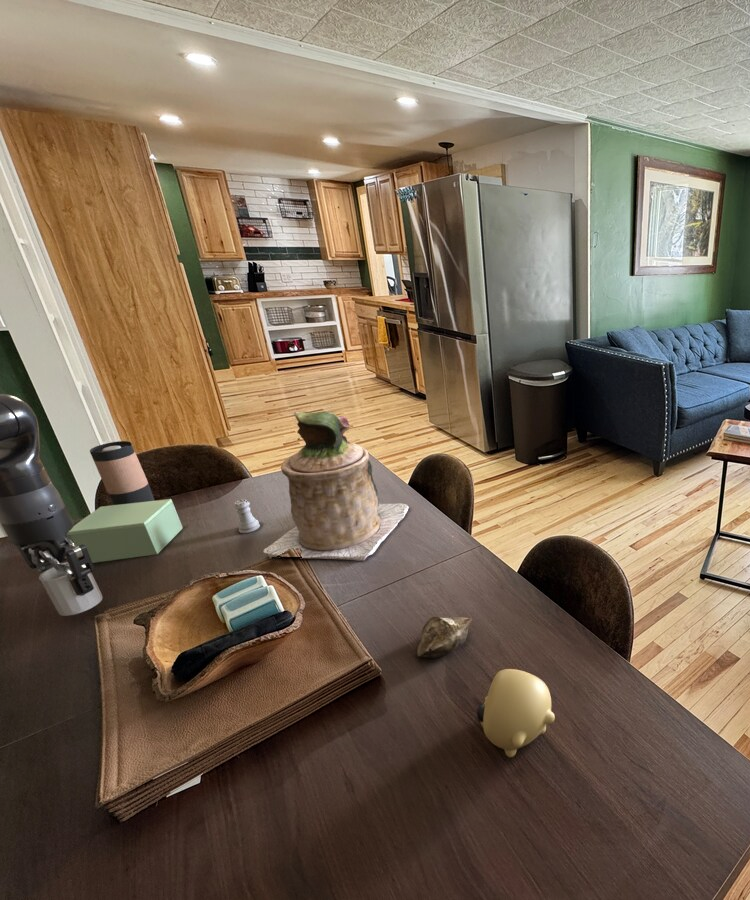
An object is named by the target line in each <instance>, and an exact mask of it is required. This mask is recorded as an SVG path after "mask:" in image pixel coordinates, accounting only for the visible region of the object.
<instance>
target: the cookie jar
mask: <svg viewBox="0 0 750 900" xmlns="http://www.w3.org/2000/svg"><path fill="white" fill-rule="evenodd" d="M293 414H294V416H295V419H296V420H297V423H296V424H297V427H298V430H297V431H296V433H297V434H299V436H300V437H301V439H302V440H303V441H304V443H305V444H304V446H303V447H301V448H300V450H299V451H298V452H296V453H294V454H292V455H291V456H289V457H287V458H286V459H284V460H283V461H282V463H281V466H280V470H281V473H282V474H283V475H284V476H285V477H286V478H287V480H288V494H289V499H290V500H289V501H290V514H291V517H292V520H293V522H294V525H295V527H293V528H291V529H290V530H288V531H287V532H285V533H284V534H283V535H282V536H281V537H280V538H278V539H277V540H275V541H274V542H273V543H271V544H270V545H269V546H267V547H265V548H264V549H263V553H264V554H265V555H267V556H268V557H269V559H272V558H278V557H277V556H278V555H280V554H282V553H284V552H285V551H287V550H288V549H291V548H298V549H301V550H302V552H301V556H302V558H301V559H323V560H324V559H325V560H344V561H345V560H347V561H357V562H359V561H365V560H366V559H367V558H368V557H369V556H372V555H374V553H375V552H376V551H377V549H378V548H379V547H380V545H381V544H382V543H383V541H385V540H386V538H387V537H388V536H389V535H390V534H391V532H392V531H393V530H394V529H395V528H396V527H397V526H398V523H400V522H401V521H402V520H403V519H404V518H405V517H406V514H407V513H408V511H409V508H410V507H409V505H408V504H406V503H401V502H400V503H399V502H398V503H380V498H379V497H378V496H379V491H378V488H377V486H376V483H375V480H374V471H373V468H374V466H373V465H374V464H373V463H372V461H371V459H370V455H369V452H368V450H367V449H366V448H364V447H362V445H360V444H357V443H354V442H351V441H348V439H347V437H346V436H345V435H344V434H345V433H346V432H347V431H348V430H349V429H350V428H351V426H350V425H351V424H350V423H349V421H348V419H347V418H346V417H345V416H337V415H336V414H334V413H332V412H329V411H325V410H324V411H316V412H315V411H314V412H307V413H305V412H301V411H295V412H294V413H293Z"/></svg>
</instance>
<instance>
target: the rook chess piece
mask: <svg viewBox="0 0 750 900" xmlns="http://www.w3.org/2000/svg"><path fill="white" fill-rule="evenodd" d="M250 504H251V502H249V501H248V500H247V499H246V498H244V499H243V498H242V499H239V500H236V501H234V505H233V508H234V509H236V513H237V515H238V519H239V522H238V525H237V529H238V532H239V533H240V534H249V533H252V532H255V531H257V530H258V529H260V526H261V524H260V523H259V520H257V519H256V517H254V516H253V514H252V512H251V507H250Z"/></svg>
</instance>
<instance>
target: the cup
mask: <svg viewBox="0 0 750 900" xmlns="http://www.w3.org/2000/svg"><path fill="white" fill-rule="evenodd" d="M66 563H68V561H66V562H61V564H66ZM84 565H85V564H84ZM69 569H70V566H69ZM70 570H71V569H70ZM71 572H72V571H71ZM87 575H88V577H89V579H90V581H91V583H92V585H93V587H94V589H93V590H92V591H90V592H88V593H87V594H85V595H83V596H80V595H77V594H76V592H75V590H74V588H73V586H72V585H71V583H70V581H69V579H68V577H67V576H66V575H65V574H64V573H63V571H57V570H56V569H55V568H54V567H52V568H50V569H48V570H46V571H44V572H43V573H40V574H39V576H38V580H39V582H40V583H41V585H42V587H43V590H44V591H45V593H46V595H47V596H48V598H49V600H50V601H51V603H52V605H53V607H54V609H55V611H56V612H57V613H58V615H59V616H61V617H67V616H74V615H78V614H81V613H84V612H86V611H89V610H90V609H92V608H94V607H96V606H97V605H98V604H100V603H101V602H102V601H103V598H104V597H103V594H102V591H101V589H100V588H99V585H98V583H97V581H96V580H95V578H94V575H93V572H91V573H89V574H87Z"/></svg>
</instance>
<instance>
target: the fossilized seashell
mask: <svg viewBox="0 0 750 900" xmlns="http://www.w3.org/2000/svg"><path fill="white" fill-rule="evenodd" d="M472 621H473V619H472V618H470V617H463V616H453V617H452V616H449V617H441V616H432V617H430V618H429V619H428V620H426V622H425V624H424V625H423V626H422V627H423V628H422V630H421V635H420V636H421V637H420V640H419V644H418V647H417V648H416V656H417V657H420V658H421V657H422V658H428V659H429V658H430V659H438V658H442V657H445V656H447V655H449V654H451V653H453V652H454V651H455V650H456V649H457V648H458V647H460V646H462V645H463V644H464V642H466V640H467V637H468V632H469V628H470V625H471V623H472Z"/></svg>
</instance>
